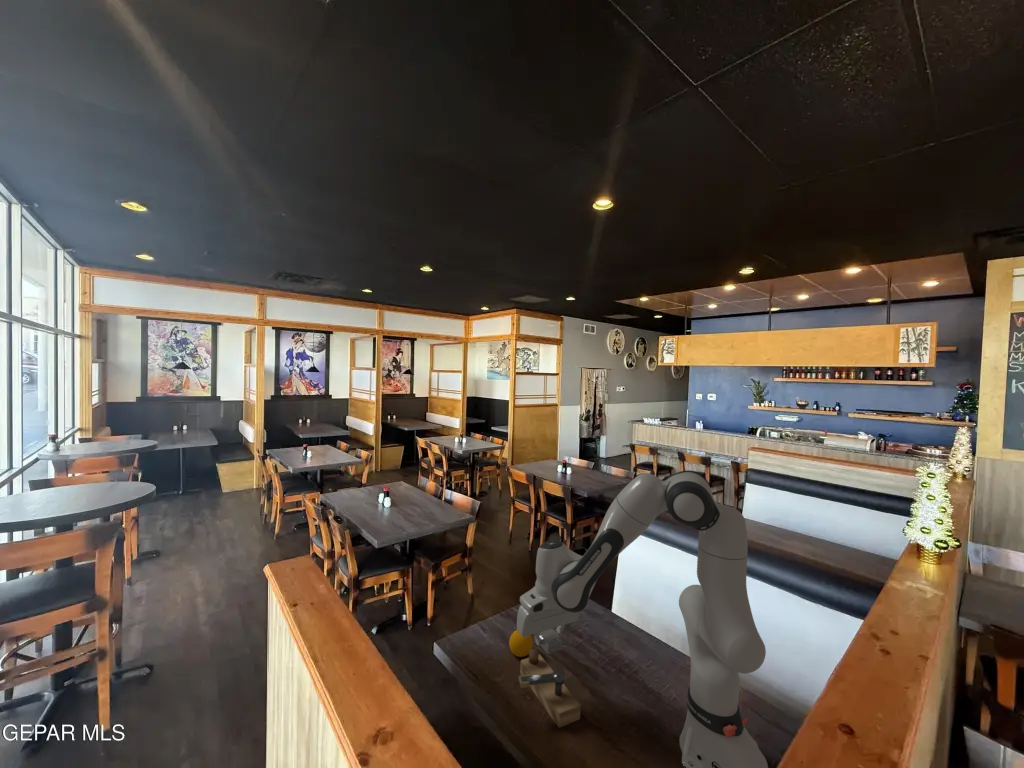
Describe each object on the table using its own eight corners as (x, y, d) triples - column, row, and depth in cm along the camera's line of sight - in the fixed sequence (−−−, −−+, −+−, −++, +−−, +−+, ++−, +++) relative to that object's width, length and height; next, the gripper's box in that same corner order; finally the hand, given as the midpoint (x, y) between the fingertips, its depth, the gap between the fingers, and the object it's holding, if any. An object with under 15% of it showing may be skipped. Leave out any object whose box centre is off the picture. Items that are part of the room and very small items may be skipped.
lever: (562, 674, 119) (563, 669, 119) (566, 683, 116) (567, 678, 116) (518, 679, 116) (518, 674, 116) (521, 689, 113) (521, 683, 113)
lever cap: (562, 649, 121) (562, 639, 121) (548, 654, 118) (548, 644, 118) (548, 633, 128) (548, 624, 128) (534, 638, 125) (534, 628, 125)
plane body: (580, 718, 114) (581, 691, 113) (558, 728, 110) (560, 700, 110) (539, 666, 133) (540, 643, 133) (520, 672, 130) (521, 648, 130)
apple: (505, 657, 136) (506, 635, 136) (512, 642, 144) (513, 621, 144) (529, 663, 134) (530, 641, 134) (534, 648, 142) (535, 627, 141)
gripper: (572, 583, 130) (570, 626, 131) (514, 598, 121) (513, 644, 121) (584, 593, 124) (582, 637, 125) (525, 609, 115) (523, 657, 116)
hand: (548, 641), depth 123 cm, fingers closed on lever cap, 5 cm apart
